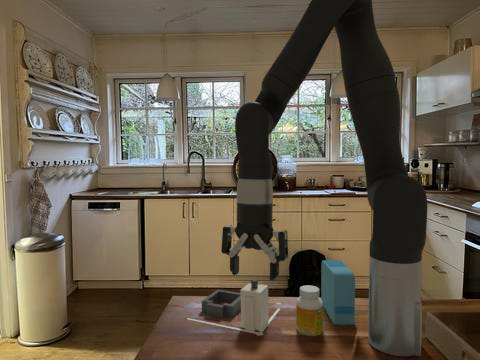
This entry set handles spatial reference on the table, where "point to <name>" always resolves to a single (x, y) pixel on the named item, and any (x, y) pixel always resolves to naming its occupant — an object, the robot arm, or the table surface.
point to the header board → (238, 328)
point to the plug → (254, 306)
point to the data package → (338, 292)
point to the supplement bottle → (309, 311)
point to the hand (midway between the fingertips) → (253, 276)
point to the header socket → (225, 309)
